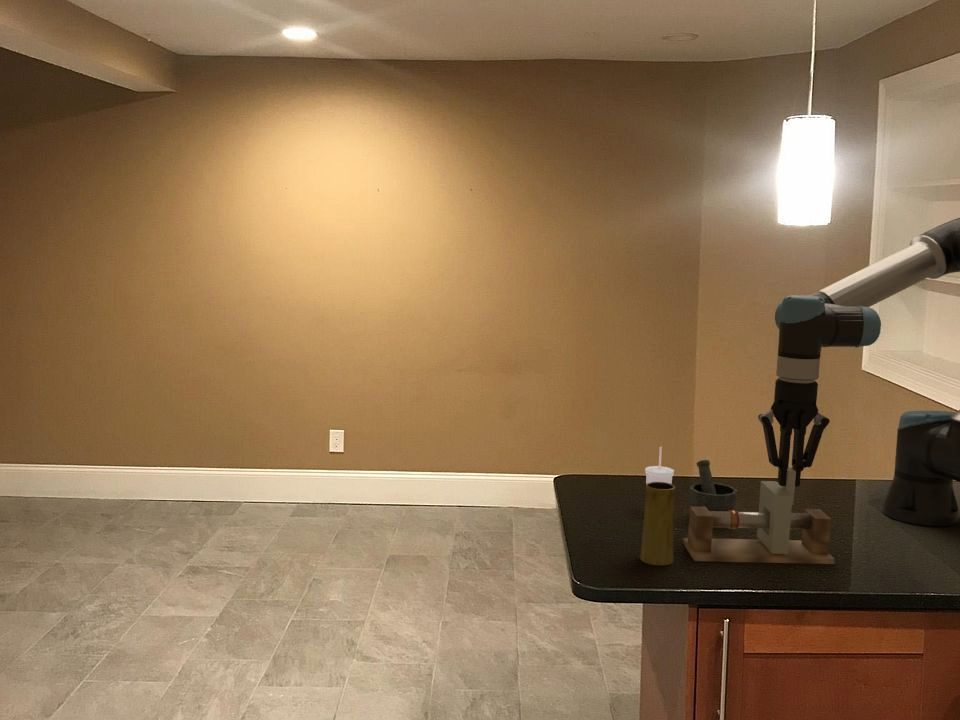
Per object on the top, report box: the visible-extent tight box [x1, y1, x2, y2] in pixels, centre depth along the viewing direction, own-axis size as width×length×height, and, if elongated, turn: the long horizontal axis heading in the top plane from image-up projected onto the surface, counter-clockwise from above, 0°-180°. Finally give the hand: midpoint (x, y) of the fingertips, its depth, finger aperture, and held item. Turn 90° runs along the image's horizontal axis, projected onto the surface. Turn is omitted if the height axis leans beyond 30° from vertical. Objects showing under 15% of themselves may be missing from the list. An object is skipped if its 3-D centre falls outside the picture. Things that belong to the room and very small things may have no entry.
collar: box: [756, 480, 793, 554], centre depth 185 cm, size 3×10×11 cm, turn 1°
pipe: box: [709, 509, 812, 530], centre depth 185 cm, size 23×4×4 cm, turn 91°
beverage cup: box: [644, 446, 675, 486], centre depth 211 cm, size 6×6×14 cm
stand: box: [682, 505, 836, 565], centre depth 186 cm, size 26×10×8 cm, turn 91°
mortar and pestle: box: [688, 459, 738, 511], centre depth 205 cm, size 11×9×12 cm
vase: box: [639, 482, 676, 567], centre depth 180 cm, size 6×6×14 cm
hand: (787, 502), depth 185 cm, fingers closed
